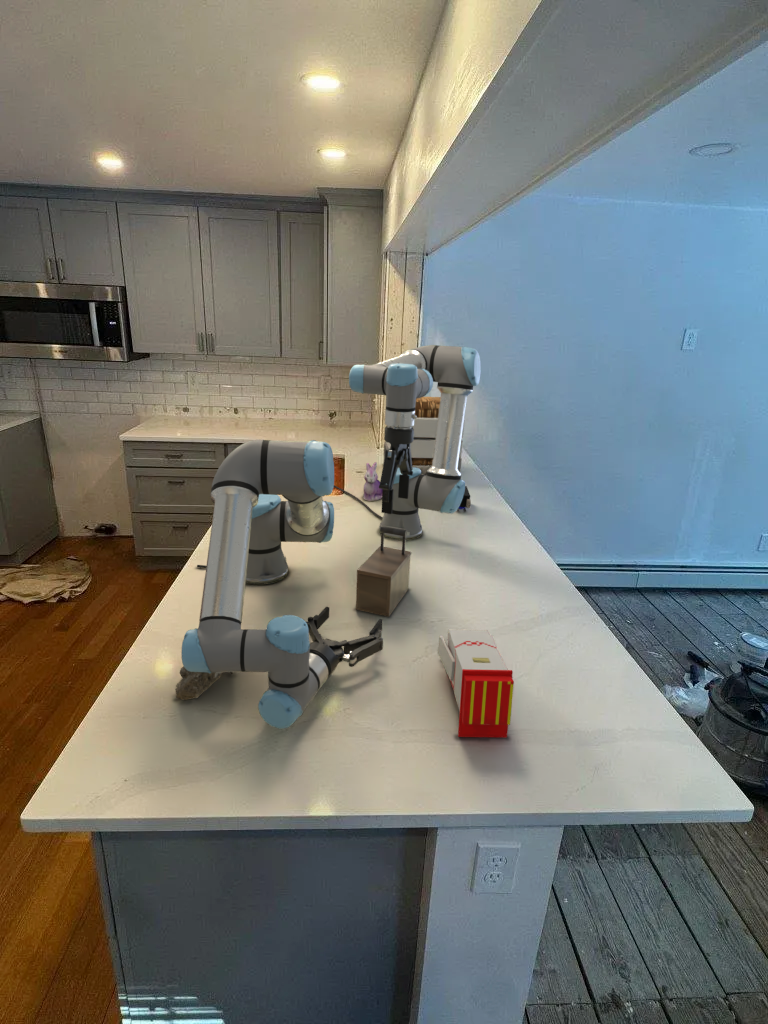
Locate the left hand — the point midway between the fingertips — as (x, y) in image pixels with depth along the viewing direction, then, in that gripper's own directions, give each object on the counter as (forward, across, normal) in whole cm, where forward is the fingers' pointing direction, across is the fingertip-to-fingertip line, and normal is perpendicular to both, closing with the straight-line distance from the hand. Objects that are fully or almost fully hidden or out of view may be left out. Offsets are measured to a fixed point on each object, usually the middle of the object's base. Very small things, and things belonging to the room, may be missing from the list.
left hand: (353, 617), depth 134 cm
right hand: (+28, 0, +19) cm, 34 cm away
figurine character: (+106, +2, -6) cm, 106 cm away
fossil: (-24, -22, -6) cm, 33 cm away
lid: (+22, 0, +5) cm, 22 cm away
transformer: (+147, -28, -6) cm, 150 cm away
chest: (+22, 0, -6) cm, 22 cm away
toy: (-9, +30, -6) cm, 32 cm away
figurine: (+101, -34, -6) cm, 107 cm away
